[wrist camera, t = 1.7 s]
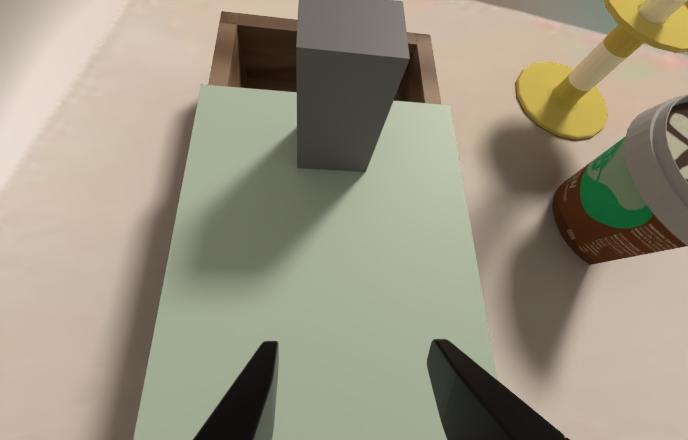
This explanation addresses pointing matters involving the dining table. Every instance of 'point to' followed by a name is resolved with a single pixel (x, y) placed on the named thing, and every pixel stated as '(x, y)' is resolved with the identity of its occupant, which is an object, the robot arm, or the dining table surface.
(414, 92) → the walnut box
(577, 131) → the candle
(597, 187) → the food container
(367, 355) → the lid
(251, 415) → the robot arm
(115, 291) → the dining table surface
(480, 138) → the dining table surface
